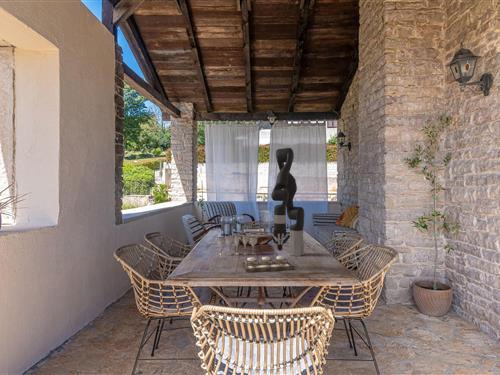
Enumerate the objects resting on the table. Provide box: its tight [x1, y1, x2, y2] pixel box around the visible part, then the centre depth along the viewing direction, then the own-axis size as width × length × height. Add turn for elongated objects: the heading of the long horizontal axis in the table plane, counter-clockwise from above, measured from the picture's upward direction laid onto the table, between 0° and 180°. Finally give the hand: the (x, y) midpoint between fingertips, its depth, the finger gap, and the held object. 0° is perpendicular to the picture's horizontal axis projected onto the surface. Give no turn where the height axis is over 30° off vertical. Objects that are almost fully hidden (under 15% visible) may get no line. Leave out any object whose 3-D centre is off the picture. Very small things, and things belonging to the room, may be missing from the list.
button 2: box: [275, 255, 286, 261], centre depth 230 cm, size 5×5×2 cm
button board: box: [241, 257, 294, 273], centre depth 227 cm, size 28×16×4 cm, turn 101°
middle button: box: [261, 256, 271, 261], centre depth 229 cm, size 5×5×2 cm
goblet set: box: [216, 234, 258, 256], centre depth 263 cm, size 28×6×13 cm, turn 92°
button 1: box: [246, 256, 257, 262], centre depth 227 cm, size 5×5×2 cm
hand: (279, 250), depth 230 cm, fingers closed
